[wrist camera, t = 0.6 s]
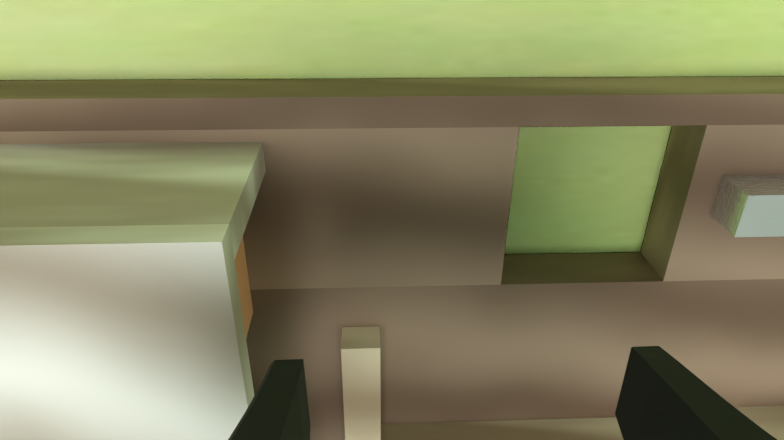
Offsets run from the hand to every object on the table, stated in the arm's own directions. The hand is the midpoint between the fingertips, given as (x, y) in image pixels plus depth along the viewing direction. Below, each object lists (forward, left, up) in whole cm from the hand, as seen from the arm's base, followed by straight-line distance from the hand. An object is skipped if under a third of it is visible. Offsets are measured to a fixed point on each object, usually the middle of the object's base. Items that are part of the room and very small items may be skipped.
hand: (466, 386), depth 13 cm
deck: (-6, -2, -10) cm, 11 cm away
